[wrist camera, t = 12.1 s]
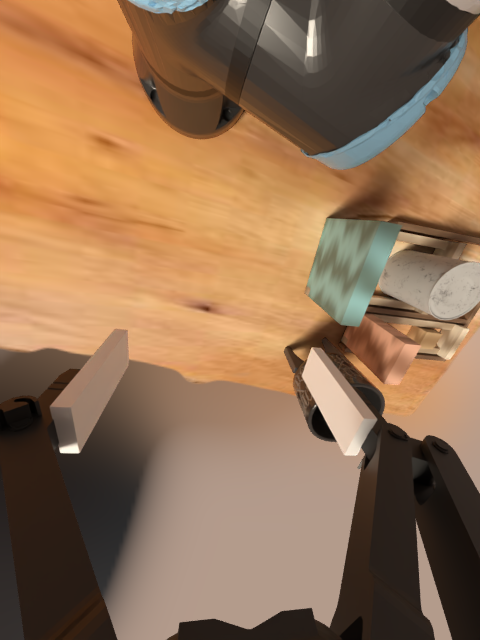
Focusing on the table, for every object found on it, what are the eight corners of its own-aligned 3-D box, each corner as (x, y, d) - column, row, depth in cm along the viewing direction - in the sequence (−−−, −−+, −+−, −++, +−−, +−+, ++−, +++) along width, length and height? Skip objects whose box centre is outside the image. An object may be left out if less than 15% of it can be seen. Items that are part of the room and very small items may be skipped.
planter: (334, 369, 56) (383, 432, 40) (283, 381, 56) (311, 449, 40) (332, 323, 50) (388, 375, 34) (275, 337, 50) (305, 396, 34)
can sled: (326, 218, 40) (380, 220, 27) (446, 241, 44) (542, 253, 31) (304, 292, 46) (340, 324, 33) (412, 307, 50) (482, 340, 37)
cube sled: (354, 308, 49) (405, 343, 36) (452, 321, 53) (530, 356, 40) (341, 340, 52) (383, 383, 39) (434, 350, 56) (501, 391, 43)
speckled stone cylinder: (402, 240, 44) (466, 249, 33) (432, 264, 46) (501, 280, 35) (368, 283, 47) (416, 305, 36) (399, 303, 50) (452, 329, 39)
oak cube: (412, 323, 52) (427, 332, 49) (427, 325, 53) (442, 334, 50) (404, 338, 54) (417, 347, 50) (418, 340, 55) (433, 349, 51)
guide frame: (388, 220, 42) (398, 221, 40) (504, 244, 46) (519, 246, 44) (338, 345, 53) (344, 351, 51) (436, 355, 57) (445, 361, 55)
